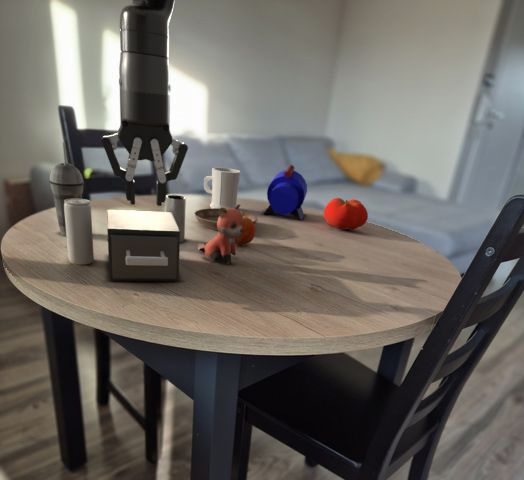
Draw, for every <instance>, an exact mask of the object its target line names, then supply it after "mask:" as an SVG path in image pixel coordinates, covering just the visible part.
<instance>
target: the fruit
mask: <svg viewBox="0 0 524 480" xmlns="http://www.w3.org/2000/svg"><path fill="white" fill-rule="evenodd" d="M244 212H245V211H244ZM244 212H243V215H244ZM242 222H243V223H242V234H241V235H240V236H239V237H235V239H234V241H235V245H238V246H246V245H248V244H250V243H251V242H252V241H253V239H254V238H255V236H256V225H255V224H254V223H253V221H252V220H251V219H249V218H248V217H246V216H243V220H242Z"/></svg>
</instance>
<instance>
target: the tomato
mask: <svg viewBox="0 0 524 480" xmlns="http://www.w3.org/2000/svg"><path fill="white" fill-rule="evenodd" d="M323 217H324V219H325V221H326V222H327V223H328V225H330V226H331V227H332V228H336V229H337V230H341V231H343V230H347V229H348V230H350V231H351V230H355V229H358V228H361V227H362V226H364V225H365V224H366V223H367V221H368V220H369V213H368V210H367V208H366V207H365V205H364V204H362V202H361V201H359V200H357V199H354V198H353V199H349V200H347V199H345V200H344V198H343V199H342V198H341V197H335V198H332V199H331V200H330V201H328V202H327V204H326V205H325V207H324V209H323Z"/></svg>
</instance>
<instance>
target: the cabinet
mask: <svg viewBox="0 0 524 480" xmlns="http://www.w3.org/2000/svg"><path fill="white" fill-rule="evenodd" d="M106 211H107V212H106V213H107V219H106V220H107V221H106V222H107V223H106V226H107V227H106V229H107V251H108V253H107V254H108V275H109V278H108V279H109V282H179V280H180V251H181V250H180V247H181V242H180V230H179V228H178V226H177V224H176V222H175V220H174V217H173V215H172V213H171V212H166V211H152V210H151V211H147V210H130V209H129V210H128V209H127V210H126V209H106ZM111 234H115V235H116V234H130V235H160V236H176V237H177V277H176V279H123V278H113V269H112V243H111Z"/></svg>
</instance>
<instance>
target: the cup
mask: <svg viewBox="0 0 524 480" xmlns="http://www.w3.org/2000/svg"><path fill="white" fill-rule="evenodd" d="M240 178H241V170H239V169H235V168H229V167H212V168H211V175H207V176H205V177H204V178H203V190H204V191H205V192H206V193H207V194H211V202H210V203H209V208H210V209H211V208H221V207H223V208H225V209H228V208H232V209H233V208H235V207H236V206H237V205H238V204H237V203H238V194H239V193H238V192H239V185H240ZM210 181H211V187H212V188H211V187H210V186H209V182H210Z"/></svg>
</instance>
